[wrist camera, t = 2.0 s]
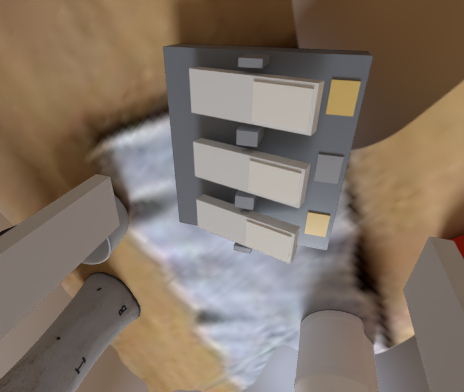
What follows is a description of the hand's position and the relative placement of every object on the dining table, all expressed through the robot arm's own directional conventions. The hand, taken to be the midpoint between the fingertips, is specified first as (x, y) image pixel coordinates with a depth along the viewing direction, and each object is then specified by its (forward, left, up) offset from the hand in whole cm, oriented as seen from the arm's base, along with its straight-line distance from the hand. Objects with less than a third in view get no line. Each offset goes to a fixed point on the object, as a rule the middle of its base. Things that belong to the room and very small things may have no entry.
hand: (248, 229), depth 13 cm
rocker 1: (-2, -4, -16) cm, 17 cm away
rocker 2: (+5, -4, -16) cm, 17 cm away
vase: (+41, -31, -23) cm, 57 cm away
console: (+5, -4, -23) cm, 24 cm away
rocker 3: (+12, -4, -16) cm, 21 cm away
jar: (+36, +11, -23) cm, 44 cm away
